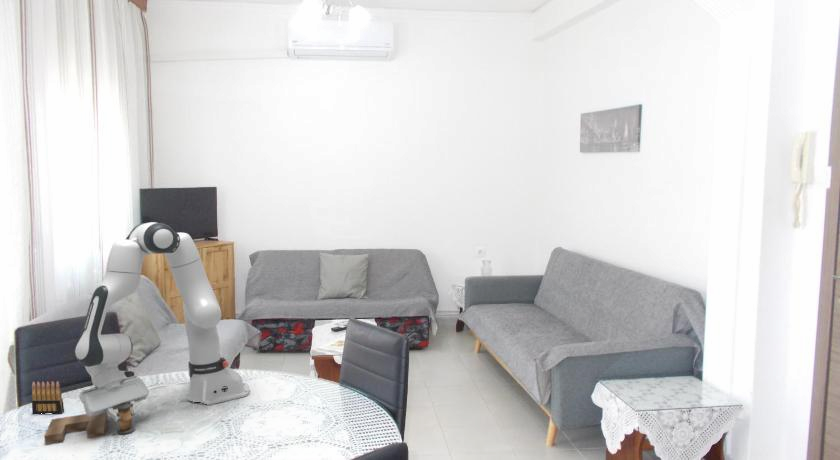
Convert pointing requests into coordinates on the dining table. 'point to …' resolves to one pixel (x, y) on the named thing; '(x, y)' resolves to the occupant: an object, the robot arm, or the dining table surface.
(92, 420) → the notched board
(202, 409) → the dining table surface
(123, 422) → the bobbin
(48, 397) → the ammunition clip
